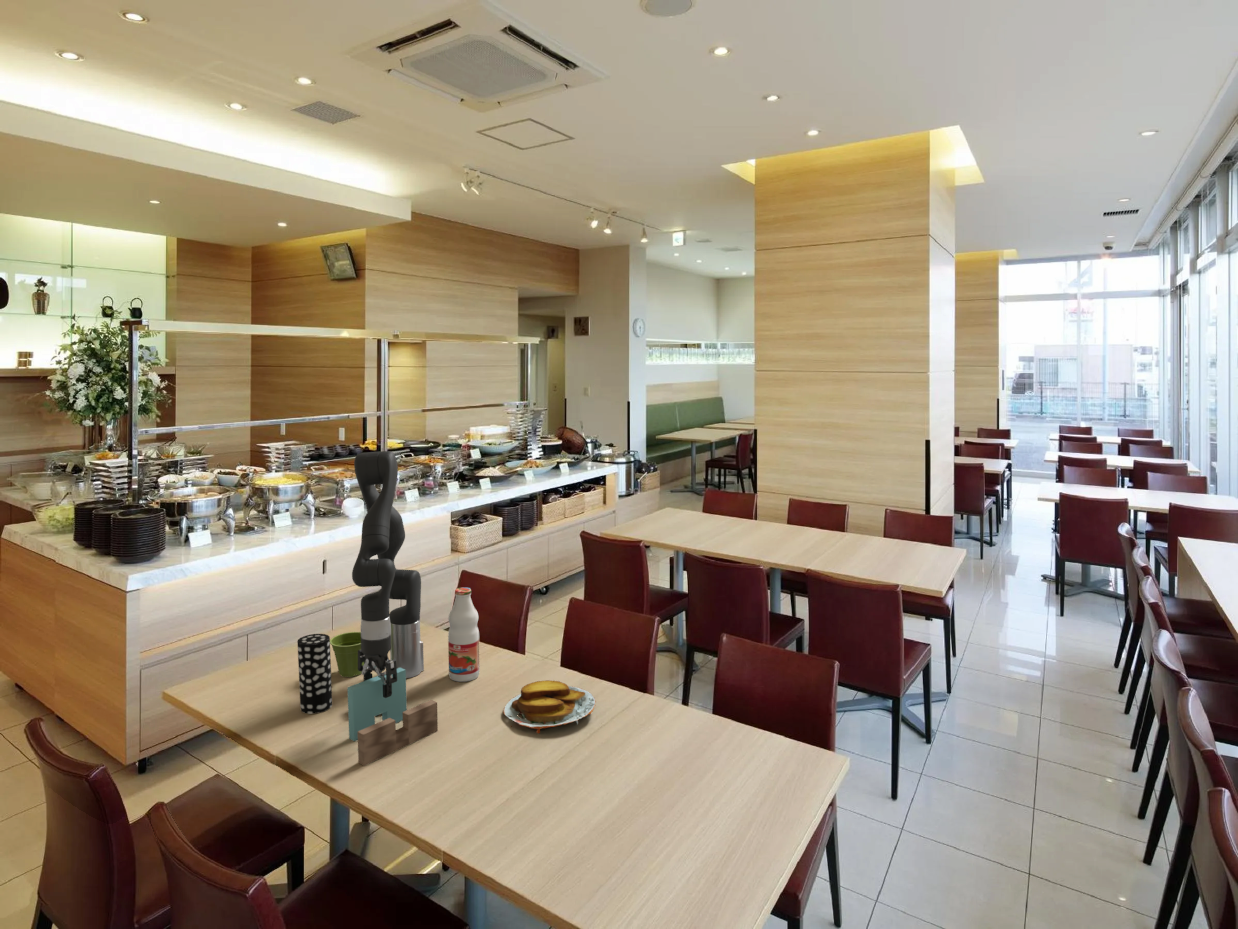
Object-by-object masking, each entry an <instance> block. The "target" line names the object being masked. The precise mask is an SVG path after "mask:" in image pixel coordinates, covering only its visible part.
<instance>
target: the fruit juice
mask: <svg viewBox="0 0 1238 929" xmlns="http://www.w3.org/2000/svg"><path fill="white" fill-rule="evenodd" d="M454 595H455V599H454V603H453V606H452V608H451V610H450V611H449V613H448V618H447V619H448V623H449V629H448V635H447V637H448V638H447V639H448V640H447V643H448V648H447V649H448V677H449V678H450V680H451V681H454V682H458V683H464V682H470V681H473V680H475V679H477V678H478V677H479V675H480V631H479V627H478V621H479V613H478V611H477V609H476V607H475V606H474V604H473V600H472V598H471V595H472V589H471V587H458V588H456V589H455V590H454Z"/></svg>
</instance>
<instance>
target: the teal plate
mask: <svg viewBox="0 0 1238 929" xmlns="http://www.w3.org/2000/svg"><path fill="white" fill-rule="evenodd" d="M384 677H385V679H386V675H385V676H384ZM392 678H393V674H392ZM346 688H347V689H346V690H347V712H348V714H347V715H348V738H349V740H351V741H353V742H358V735H357V732H358V731H360V730H362V729H365V728H367V727H369V726H371V725H374V724H376V717H377V716H380V715H381V718H382V720H381V721H383V720H385V719H388V718H391V719H393V720H395V722H396V724H397V723H400V722H403V713H402V712H404V711H406V710H408V708H407V706H408V705H407V704H408V703H407V678H406V670H405V669H403V668H398V669H397V682H394V683H392V695H391V696H390V697H387V698H384V697H383V683H382V680H381V678H379V677H378V675H377V676H373V678H371V679H368V680H366V681H364V680H363V681H360V682H357V683H355V684H353V685H350V686H347V687H346Z"/></svg>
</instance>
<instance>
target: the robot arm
mask: <svg viewBox="0 0 1238 929" xmlns="http://www.w3.org/2000/svg"><path fill="white" fill-rule="evenodd" d="M353 464H354V466H353V467H354V473H355V476H356V480H357V483H358V486H359V489H360V493H361V495H362V498H363V502H364V505H365V508H366V514H365V516H364V518H363V520H362V525H361V540H360V542H361V543H360V549H359V553H358V555H357V557H356V561H355V562H354V565H353V568H352V572H351V578H352V582H353V583H354V584H355V586H357V587H359V588H367V587H368V588H369V587H381V588H380V589H378V591H375V592H371V593H368V594H365V595H363V597H361V600H360V615H361V616H360V632H361V650H358V671H362V673H361V675H362V676H363V681H366V680H368V679H371V678H374V676H373V673H372V672H375V673H376V675H377V676H378V677H379V678H381V680H382V683H383V697H384V698H387V697H390V696H391V695H392V683H394V682H397V669H398V668H403V669H405V670H406V679H409V678H413V677H416V676H418V675H420V673H421V672H422V671H424V670H425V667H424V666H425V664H424V662H425V661H424V659H425V658H424V642H423V641H422V640H421V607H422V606H421V600H422V595H421V594H422V579H421V578H422V577H421V574H420V572H419V571H418V570H417V569H399V568H396V564H395V559H396V556H397V554H398V553H399V552H400V550H401V548H402V546H403V544H404V542H405V539H406V532H405V526H404V521H403V518H402V515H401V514H400V513H399V511H398V510H397V509H396V508H395V507H394V506H393V505H394V498H395V493H396V487H397V482H398V473H399V472H398V471H399V469H398V468H399V467H398V459H397V457H396V455H395V453H394V452H393V451H389V450H383V451H370V452H361V453H358V454H357V455H356V456H355V457H354V462H353ZM376 485H382V488H381V490H380V492H379V491H378V490H377V488H376ZM375 556H376V557H377V558H372V557H375ZM371 558H372V559H371ZM390 600H399V601H401V600H402V601H403V600H404V601H405V602H406V603H405V604H404V605H403V606H399V607H397V608H394V609H392V610H391V611H390ZM389 654H390V655H389ZM389 656H390V658H389ZM362 662H364V665H363V666H362ZM392 674H393V678H392ZM385 675H386V679H385V677H384V676H385Z"/></svg>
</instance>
